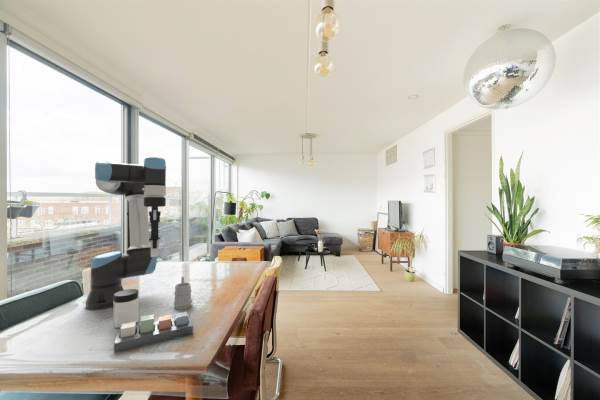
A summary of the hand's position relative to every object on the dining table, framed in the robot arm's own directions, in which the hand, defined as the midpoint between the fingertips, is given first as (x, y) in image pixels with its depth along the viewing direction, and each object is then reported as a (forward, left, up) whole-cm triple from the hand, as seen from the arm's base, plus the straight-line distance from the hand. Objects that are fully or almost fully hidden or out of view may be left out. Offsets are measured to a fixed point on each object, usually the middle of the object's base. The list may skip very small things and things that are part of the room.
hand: (154, 256), depth 100 cm
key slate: (+14, +1, -25) cm, 29 cm away
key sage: (+7, -8, -24) cm, 26 cm away
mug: (-5, +18, -27) cm, 33 cm away
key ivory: (+4, -13, -25) cm, 28 cm away
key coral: (+11, -4, -25) cm, 28 cm away
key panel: (+9, -6, -26) cm, 29 cm away
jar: (-11, -4, -27) cm, 29 cm away
